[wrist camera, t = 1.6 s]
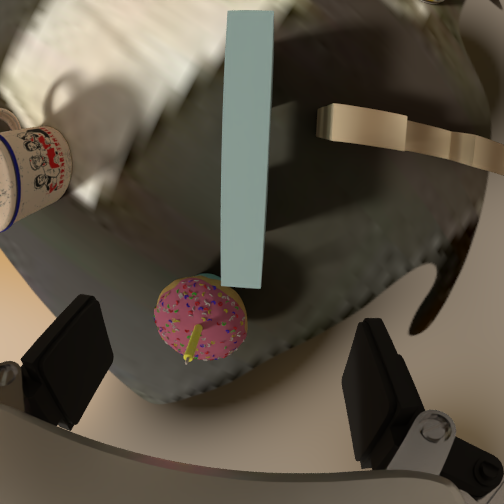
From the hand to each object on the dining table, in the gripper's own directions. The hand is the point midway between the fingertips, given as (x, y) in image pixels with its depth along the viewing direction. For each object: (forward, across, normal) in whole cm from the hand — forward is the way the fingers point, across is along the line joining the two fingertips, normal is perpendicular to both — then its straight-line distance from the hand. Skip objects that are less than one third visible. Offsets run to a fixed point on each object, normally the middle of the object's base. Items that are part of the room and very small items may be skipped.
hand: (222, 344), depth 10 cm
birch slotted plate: (+18, -13, -8) cm, 23 cm away
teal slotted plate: (+18, 0, -6) cm, 19 cm away
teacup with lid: (+18, +23, -6) cm, 30 cm away
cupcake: (+18, +4, +9) cm, 21 cm away
